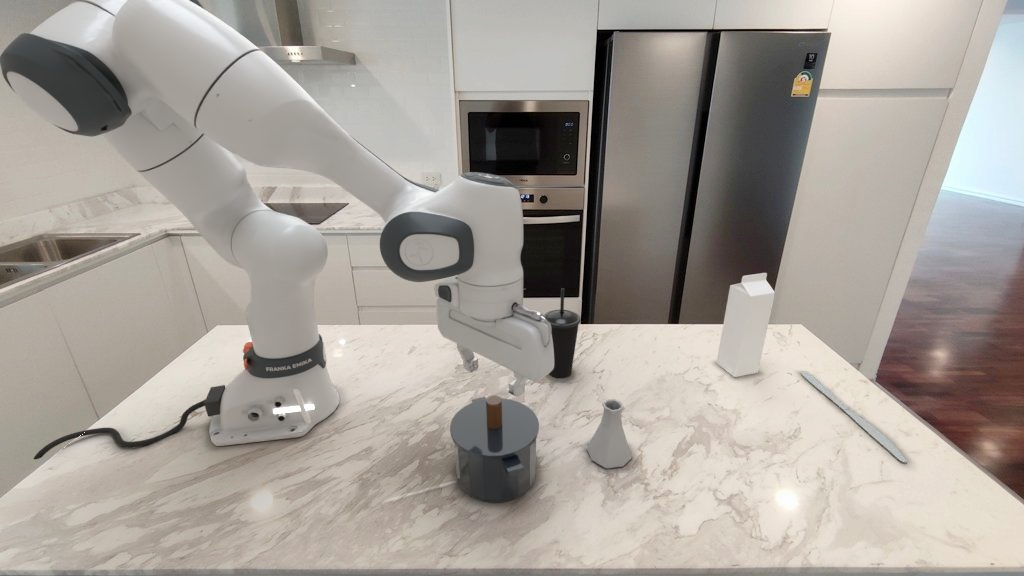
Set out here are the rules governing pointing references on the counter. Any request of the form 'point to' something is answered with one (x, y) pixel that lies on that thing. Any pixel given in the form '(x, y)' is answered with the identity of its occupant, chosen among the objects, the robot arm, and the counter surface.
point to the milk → (745, 325)
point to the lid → (494, 428)
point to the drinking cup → (563, 338)
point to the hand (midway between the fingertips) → (492, 381)
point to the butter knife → (856, 418)
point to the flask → (610, 438)
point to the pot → (496, 474)
